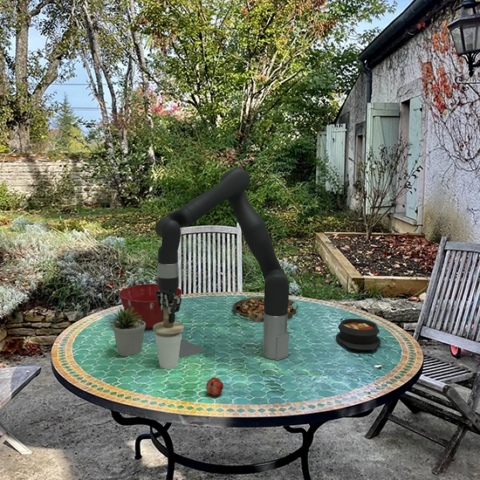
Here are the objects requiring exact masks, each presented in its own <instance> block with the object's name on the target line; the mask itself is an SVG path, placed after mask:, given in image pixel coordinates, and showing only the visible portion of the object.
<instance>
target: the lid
mask: <svg viewBox="0 0 480 480" xmlns="http://www.w3.org/2000/svg"><path fill="white" fill-rule="evenodd" d="M171 310H172V307H171ZM184 327H185V326H184V324H183V323H182V322H179V321H175V322H174V323H171V324H170V323H169V312H168V307H167V306H165V307H163V322H160V323H157V324H155V325H154V326H153V328H152V330H153V332H154V333H159V334H175V333H179V332H181V333H182V332H183V331H184V329H185V328H184Z"/></svg>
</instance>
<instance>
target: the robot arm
mask: <svg viewBox="0 0 480 480" xmlns="http://www.w3.org/2000/svg"><path fill="white" fill-rule="evenodd" d="M250 184H251V178H250V174H249V173H248V171H247V170H245V169H243V168H240V167H237V168H236V167H235V168H232V169H230V170H228V171H225V172H224V173H223V174H222V175H221V177H220V182H218V183H217V184H216V185H214V186H213V187H212V188H210V189H208V190H207V191H205V192H203V193H201V194H200V195H198V196H196V197H195V198H193V199H192V200H190V201H188V202H187V203H186V204H184V205H183V206H181V207H180V208H179V209H176V210H174V211H173V212H170V213H169V214H166V215H164V216H163V217H161V218H160V219H159V220H158V221H157V222H156V224H155V226H154V230H155V231H154V232H155V233H156V234H157V236H158V237H161V245H160V246H159V247H158V250H157V267H156V268H157V270H156V273H157V274H156V276H157V277H156V278H157V284H158V288H159V289H160V291H156V298H157V303H158V307H161V310H162V320H163V307H165V306H167V307H168V312H169V323H170V324H171V323H174V322H176V313H178V312H180V308H181V304H182V296H181V297H180V298H178V297H177V293H176V289H177V288H180V281H179V280H180V276H179V275H180V273H179V272H180V271H179V270H180V268H179V248H180V243H181V237H182V230H181V229H182V228H184V227H188V226H189V227H190V226H191V225H193V224H194V223H196V222H197V221H199V220H200V219H201V218H203V217H204V216H205V215H206V214H208V213H209V212H210V211H212V210H214V208H216V207H218V205H220V204H221V203H223V202H225V201H226V200H227V201H228V203H229V205H230V207H231V209H232V210H233V211H232V212H233V213H234V215H235V218H236V221H237V223H238V225H239V228H240V230H241V234H242V236H243V239H244V240H245V243H246V245H247V247H248V248H249V250H250V252H251V254H252V255H253V257H254V258H255V259H256V261H257V263H258V265H259V268H260V271H261V273H262V276H263V281H264V291H263V292H264V295H263V297H264V322H263V327H262V328H263V331H262V332H263V333H262V334H263V336H262V356H263V357H264V358H267V359H270V360H275V361H279V360H282V359H286V358H287V357H289V343H290V333H289V332H288V320H289V319H288V302H289V300H290V297H289V296H290V282H289V278H288V276H287V274H286V273H285V271H284V269H283V267H282V266H281V263H280V261H279V260H278V257H277V255H276V253H275V249H274V244H273V242H272V239H271V237H270V233H269V231H268V228H267V227H266V223H265V222H264V220H263V218H262V217H261V216H260V214H259V213H258V211H256V210H255V208H254V207H253V206H252V204H251V203H250V201H249V199H248V197H247V194H246V190H247V189H248V187H249V186H250ZM160 300H161V301H160ZM170 303H173V304H170ZM165 304H166V305H165ZM171 307H172V310H171Z"/></svg>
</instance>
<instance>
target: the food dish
mask: <svg viewBox="0 0 480 480" xmlns="http://www.w3.org/2000/svg"><path fill="white" fill-rule="evenodd" d="M294 304H296V302H295V301H294V300H291V299H289V302H288V320H290V319H292V318H294V317H293V316H295V315H296V314H297V311H298V309H299V305H298V304H296V308H294ZM232 309H233V310H234V313H237V314H238V316H240V317H244V318H248V319H249V320H251V321H252V322H253V323H254V322H255V323H264V296H253V297H248V298H244V299H241V300H238V301H236V302H234V304H232Z"/></svg>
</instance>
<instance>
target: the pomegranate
mask: <svg viewBox="0 0 480 480" xmlns="http://www.w3.org/2000/svg"><path fill="white" fill-rule="evenodd" d="M205 389H206V391H207V393H208V395H211V396H215V397H217V396H219V395H221V394H222V392H223V389H224V384H223V382H222V380H220V379H219V378H218V377H216V376H214V377H211V378H210V379H209V380H207V381H206V386H205Z"/></svg>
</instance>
